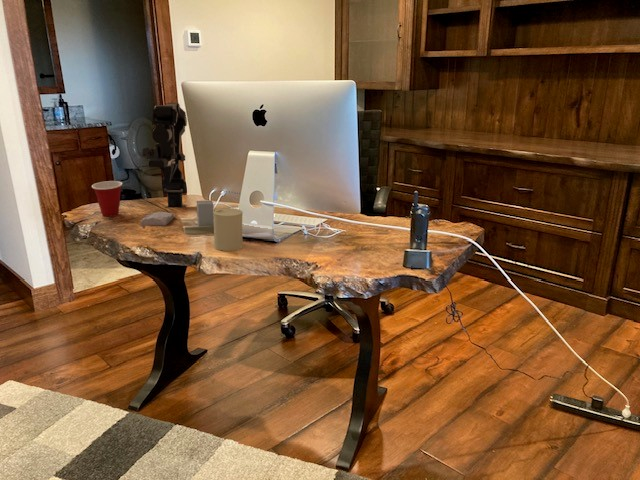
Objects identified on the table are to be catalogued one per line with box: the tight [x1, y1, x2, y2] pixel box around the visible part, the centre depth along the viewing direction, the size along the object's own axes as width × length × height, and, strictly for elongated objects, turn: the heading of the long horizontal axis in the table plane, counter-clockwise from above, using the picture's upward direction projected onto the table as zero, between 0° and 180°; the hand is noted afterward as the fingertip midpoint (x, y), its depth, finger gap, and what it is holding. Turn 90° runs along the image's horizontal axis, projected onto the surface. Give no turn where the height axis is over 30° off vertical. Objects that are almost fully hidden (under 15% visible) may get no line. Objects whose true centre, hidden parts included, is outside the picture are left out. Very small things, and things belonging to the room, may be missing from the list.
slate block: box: [196, 199, 214, 226], centre depth 180 cm, size 5×5×9 cm
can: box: [213, 207, 244, 252], centre depth 164 cm, size 9×9×12 cm
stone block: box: [140, 211, 175, 229], centre depth 187 cm, size 12×5×10 cm
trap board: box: [180, 216, 214, 238], centre depth 184 cm, size 20×15×3 cm
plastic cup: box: [91, 180, 123, 217], centre depth 194 cm, size 11×11×12 cm
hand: (168, 182), depth 193 cm, fingers closed
